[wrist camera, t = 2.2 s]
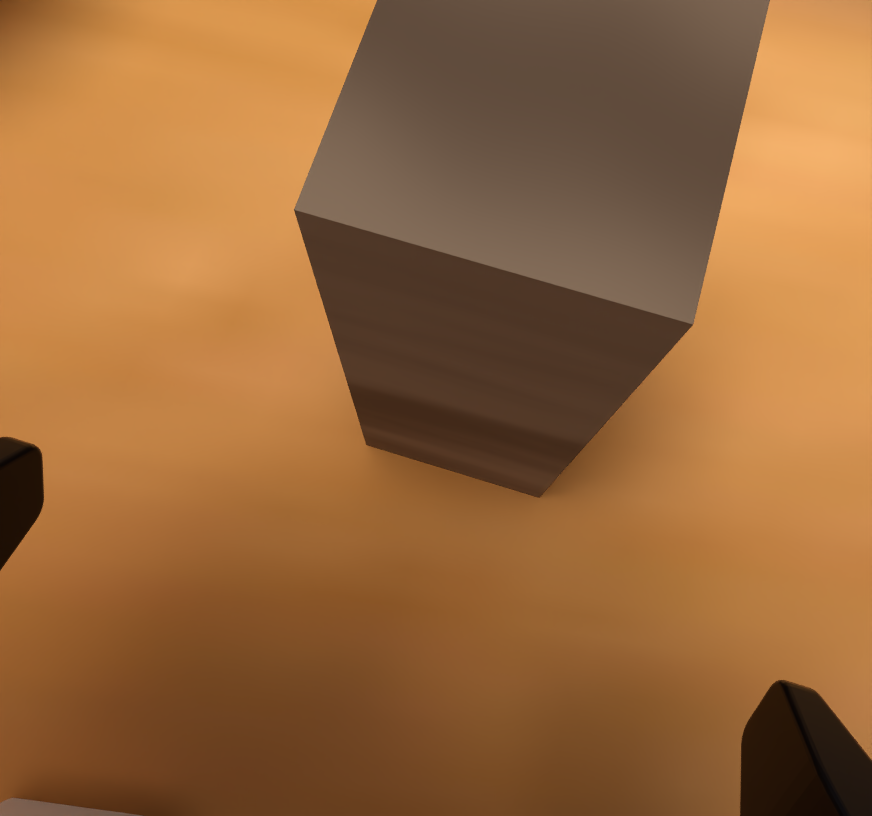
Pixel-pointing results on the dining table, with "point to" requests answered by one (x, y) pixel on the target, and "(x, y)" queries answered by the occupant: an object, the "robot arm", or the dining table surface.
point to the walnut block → (521, 216)
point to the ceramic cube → (49, 809)
